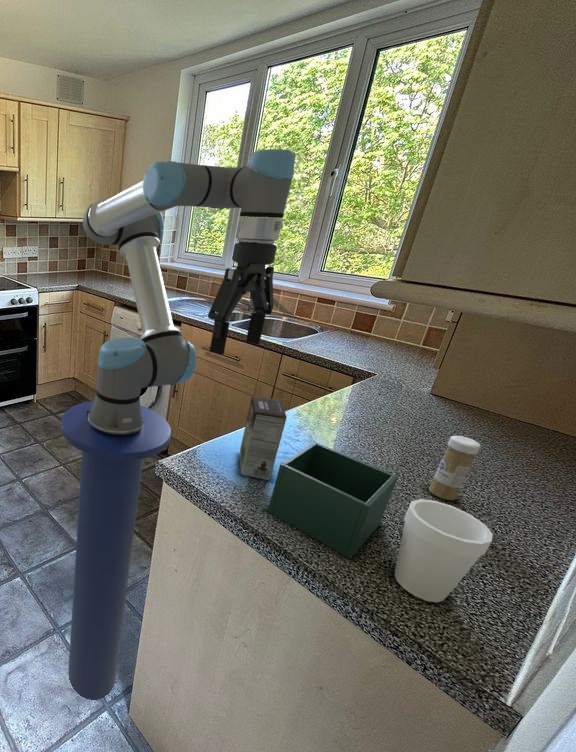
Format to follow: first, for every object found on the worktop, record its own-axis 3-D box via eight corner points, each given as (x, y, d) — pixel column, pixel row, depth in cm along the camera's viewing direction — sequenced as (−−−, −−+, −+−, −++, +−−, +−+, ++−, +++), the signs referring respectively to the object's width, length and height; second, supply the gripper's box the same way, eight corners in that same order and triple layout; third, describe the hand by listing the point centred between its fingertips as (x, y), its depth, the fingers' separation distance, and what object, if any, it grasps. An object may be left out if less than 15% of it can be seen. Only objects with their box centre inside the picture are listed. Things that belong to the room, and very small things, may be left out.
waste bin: (267, 511, 80) (280, 464, 77) (301, 485, 89) (314, 441, 85) (350, 559, 70) (369, 506, 66) (379, 524, 78) (398, 476, 74)
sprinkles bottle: (422, 487, 90) (445, 433, 85) (444, 488, 90) (468, 435, 85) (438, 500, 86) (463, 445, 81) (461, 502, 85) (487, 447, 81)
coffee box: (238, 454, 100) (251, 394, 94) (266, 459, 98) (281, 399, 92) (240, 475, 92) (254, 411, 86) (271, 481, 90) (288, 416, 84)
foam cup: (404, 605, 62) (435, 537, 57) (371, 558, 70) (395, 496, 66) (474, 616, 60) (511, 547, 56) (432, 566, 69) (461, 504, 64)
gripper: (238, 243, 67) (216, 363, 75) (306, 242, 82) (282, 343, 89) (200, 240, 73) (183, 352, 81) (269, 240, 87) (250, 334, 95)
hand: (235, 347), depth 85 cm, fingers open, 13 cm apart
